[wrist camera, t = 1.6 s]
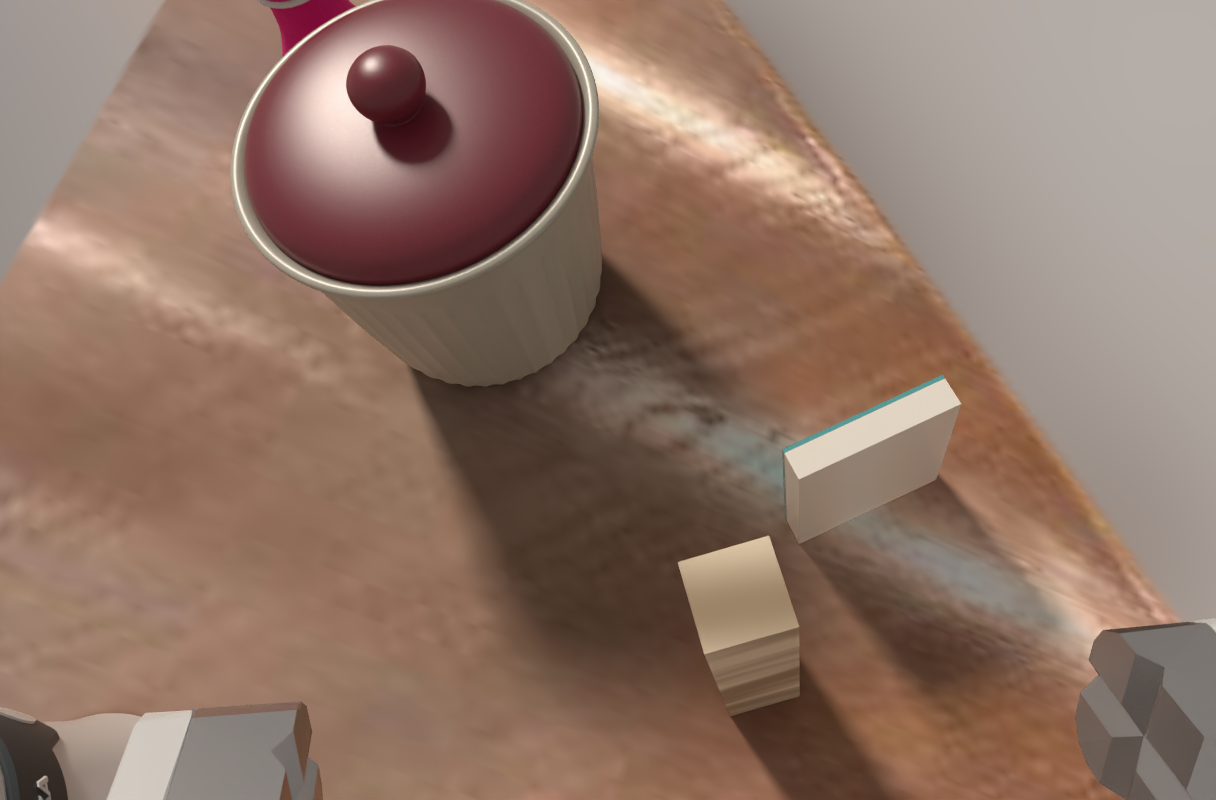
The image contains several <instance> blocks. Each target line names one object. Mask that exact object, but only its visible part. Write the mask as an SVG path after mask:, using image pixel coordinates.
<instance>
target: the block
mask: <svg viewBox="0 0 1216 800" xmlns="http://www.w3.org/2000/svg"><path fill="white" fill-rule="evenodd" d="M678 565H679V569H680V572H681V576H682V579H683V583H684V586H685V589H686V593H687V596H688V600H689V603H690V607H691V610H692V614H693V617H694V621H695V624H696V628H697V631H698V635H699V638H700V641H701V645H702V648H703V652H704V655H705V657H706V660H707V662H708V665H709V667H710V669H711V672H712V674H713V677H714V679H715V681H716V684H717V686H718V689H719V691H720V694H721V696H722V698H723V701H724V703H725V706H726V708H727V710H728V713H729V715H730V716H733V715H736V714H740V713H743V712H747V711H750V710H754V709H757V708H761V707H764V706H768V705H771V704H775V703H778V702H782V701H785V700H789V699H792V698H796V697H799V696H800V658H799V624H798V621H797V618H796V615H795V612H794V609H793V606H792V603H791V600H790V597H789V594H788V591H787V588H786V585H785V582H784V579H783V576H782V573H781V570H780V567H779V564H778V561H777V558H776V555H775V552H774V549H773V546H772V543H771V540H770V537H769V536H766V537H762V538H759V539H755V540H752V541H749V542H745V543H742V544H738V545H735V546H731V547H728V548H725V549H721V550H718V551H714V552H711V553H708V554H704V555H701V556H697V557H694V558H690V559H687V560H684V561H680V562H678Z"/></svg>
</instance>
